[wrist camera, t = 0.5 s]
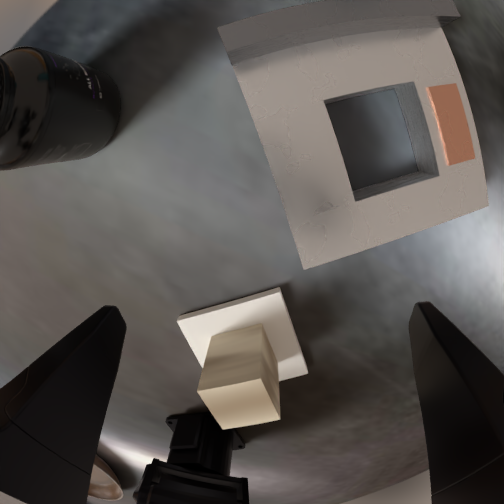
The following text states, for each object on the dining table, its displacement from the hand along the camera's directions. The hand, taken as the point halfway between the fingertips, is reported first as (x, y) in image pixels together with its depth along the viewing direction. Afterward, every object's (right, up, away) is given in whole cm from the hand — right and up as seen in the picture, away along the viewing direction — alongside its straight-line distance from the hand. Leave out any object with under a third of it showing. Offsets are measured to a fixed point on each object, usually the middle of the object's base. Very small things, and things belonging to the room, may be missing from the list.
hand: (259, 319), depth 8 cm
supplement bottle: (-12, +12, +10) cm, 20 cm away
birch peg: (-1, -6, +14) cm, 15 cm away
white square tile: (-1, -5, +15) cm, 16 cm away
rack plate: (+7, +10, +9) cm, 16 cm away
